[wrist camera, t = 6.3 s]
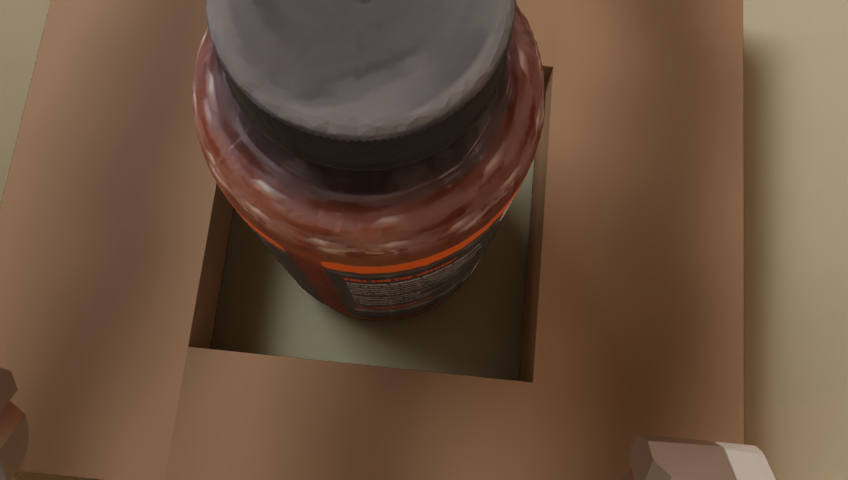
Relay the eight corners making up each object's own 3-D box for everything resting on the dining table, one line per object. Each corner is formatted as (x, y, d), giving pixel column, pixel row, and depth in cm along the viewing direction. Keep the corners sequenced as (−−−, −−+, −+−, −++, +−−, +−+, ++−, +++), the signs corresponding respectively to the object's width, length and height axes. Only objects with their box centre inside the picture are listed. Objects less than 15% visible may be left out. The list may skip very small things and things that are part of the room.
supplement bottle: (529, 227, 20) (698, 16, 9) (372, 369, 19) (339, 332, 8) (391, 81, 21) (387, -280, 10) (233, 209, 20) (22, -32, 9)
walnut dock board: (-13, 455, 18) (-63, 463, 16) (103, -49, 21) (73, -93, 19) (706, 528, 18) (744, 544, 16) (711, 20, 21) (743, -17, 19)
